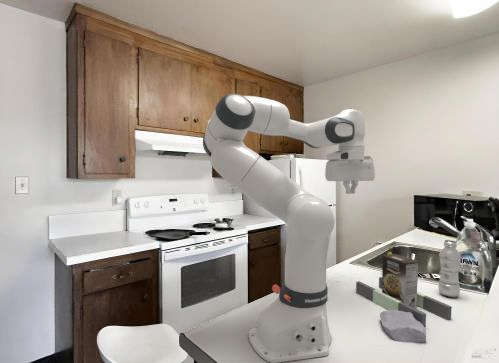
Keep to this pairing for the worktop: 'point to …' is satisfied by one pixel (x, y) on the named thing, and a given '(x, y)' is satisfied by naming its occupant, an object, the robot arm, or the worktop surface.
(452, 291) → the plastic bottle
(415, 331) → the stone block
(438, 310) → the track
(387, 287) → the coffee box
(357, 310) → the worktop surface
